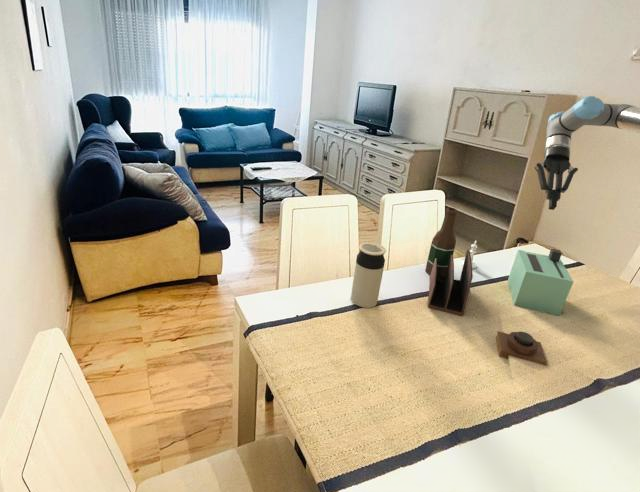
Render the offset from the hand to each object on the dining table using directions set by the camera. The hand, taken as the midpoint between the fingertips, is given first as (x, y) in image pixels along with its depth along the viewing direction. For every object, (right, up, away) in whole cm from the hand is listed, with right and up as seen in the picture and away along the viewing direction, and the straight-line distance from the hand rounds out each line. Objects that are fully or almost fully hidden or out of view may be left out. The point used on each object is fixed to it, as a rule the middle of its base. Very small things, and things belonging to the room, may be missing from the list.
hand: (552, 207), depth 133 cm
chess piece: (-24, -21, +9) cm, 33 cm away
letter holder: (-42, -28, -11) cm, 52 cm away
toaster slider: (-7, -17, -11) cm, 21 cm away
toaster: (-13, -29, -9) cm, 33 cm away
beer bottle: (-39, -23, +2) cm, 45 cm away
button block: (-33, -39, -34) cm, 61 cm away
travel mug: (-69, -29, -16) cm, 76 cm away
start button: (-33, -35, -35) cm, 60 cm away
